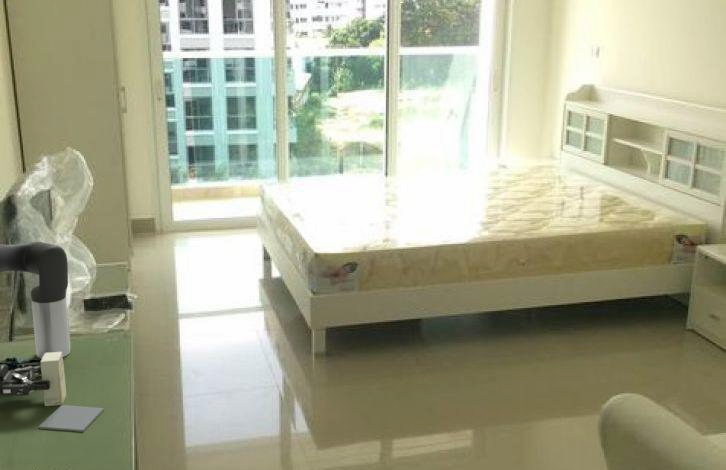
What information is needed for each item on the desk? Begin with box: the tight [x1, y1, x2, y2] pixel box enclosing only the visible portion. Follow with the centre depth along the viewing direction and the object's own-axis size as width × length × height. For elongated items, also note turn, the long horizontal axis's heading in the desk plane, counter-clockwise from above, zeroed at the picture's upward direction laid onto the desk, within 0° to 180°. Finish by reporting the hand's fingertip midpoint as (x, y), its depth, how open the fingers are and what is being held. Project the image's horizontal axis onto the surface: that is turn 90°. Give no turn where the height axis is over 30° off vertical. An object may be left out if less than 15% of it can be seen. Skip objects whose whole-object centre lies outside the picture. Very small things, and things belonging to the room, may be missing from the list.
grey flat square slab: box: [38, 404, 105, 433], centre depth 182 cm, size 11×11×1 cm
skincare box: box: [40, 352, 67, 407], centre depth 189 cm, size 6×4×12 cm
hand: (54, 377), depth 189 cm, fingers open, 8 cm apart
